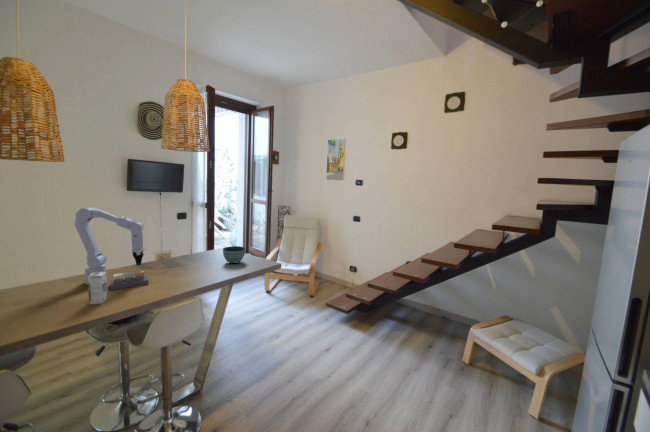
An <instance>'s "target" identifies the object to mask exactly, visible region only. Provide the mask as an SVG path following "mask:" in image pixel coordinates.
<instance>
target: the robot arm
mask: <svg viewBox="0 0 650 432" xmlns="http://www.w3.org/2000/svg"><path fill="white" fill-rule="evenodd" d="M96 218H97V219H98V218H101V219H104V220H107V221H110V222H113V223H115V224H116V226H118V227H121V228H123V229H126V230H129V231H130V232H131V235H130V237H131V252H132V256H133V258H134V261H135V265H136V266H141V265H142V260H143V257H144V255H145V253H144V251H145V250H147V248H145V247H144V236H143V229H144V224H143V223H142V222H140V221H136V220H133V219H130V218H128V216H120V217H119V216H116V215H114V214H111V213H109V212H107V211H105V210H102V209H100V208H97V207H94V206H89V207H84V208H79V210H77V212H75V220H74V227H75V229H76V231H77V232H78V235H79V238H80V240H81V242H82V244H83V247H84V248H85V251H86V253H87V254H86V261H87V262H86V265H87V268H84V281H85V286H88V276H89V275H91V274H92V273H95V272H106V273H107V271H106V264H105V263H106V262H107V256H106V255H105V254H104V253H103V252H102V250H100V249H99V247H98V245H97V243H96V241H95V238H94V236H93V234H92V231H91V230H90V227H89V223H90V222H91V221H92V220H93V219H96ZM106 282H108V277H106Z"/></svg>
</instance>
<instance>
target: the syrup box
mask: <svg viewBox="0 0 650 432" xmlns="http://www.w3.org/2000/svg"><path fill="white" fill-rule="evenodd" d="M106 278H107V271H106V272H95V273H92V274H91V275H89V276H88V285H87V287H88V288H87V289H88V304H89V305H99V304H104V303H105V302H106V300H108V287H107V286H108V285H107V282H108V281H107V282H106Z"/></svg>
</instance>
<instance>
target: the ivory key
mask: <svg viewBox="0 0 650 432" xmlns="http://www.w3.org/2000/svg"><path fill="white" fill-rule="evenodd" d="M112 278H113V280H115V283H122V282H123V278H124V273H123V272H122V273H121V272H120V273H113V277H112Z"/></svg>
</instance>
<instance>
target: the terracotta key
mask: <svg viewBox="0 0 650 432" xmlns="http://www.w3.org/2000/svg"><path fill="white" fill-rule="evenodd" d="M144 275H145V271H144V270H136V271H134V277H136V280H142V279H144V278H143V276H144Z"/></svg>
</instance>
